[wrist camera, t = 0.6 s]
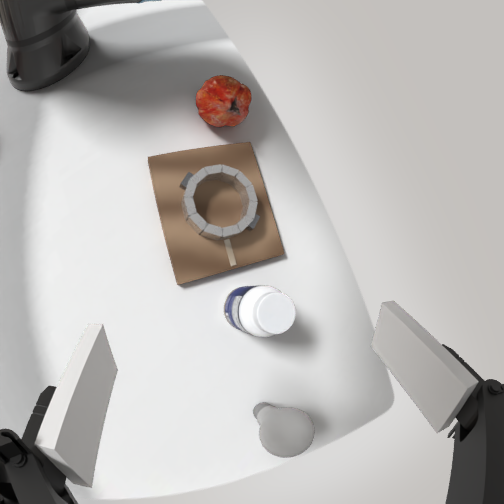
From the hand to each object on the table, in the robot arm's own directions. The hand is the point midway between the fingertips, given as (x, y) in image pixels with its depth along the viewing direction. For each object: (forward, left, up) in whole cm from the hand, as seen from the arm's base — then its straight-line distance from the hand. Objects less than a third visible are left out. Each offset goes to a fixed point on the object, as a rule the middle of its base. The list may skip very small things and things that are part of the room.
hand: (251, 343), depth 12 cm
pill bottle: (+2, +7, -22) cm, 23 cm away
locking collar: (-11, +7, -22) cm, 25 cm away
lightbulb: (+16, +5, -22) cm, 28 cm away
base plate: (-11, +7, -22) cm, 25 cm away
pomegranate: (-25, +11, -22) cm, 35 cm away
